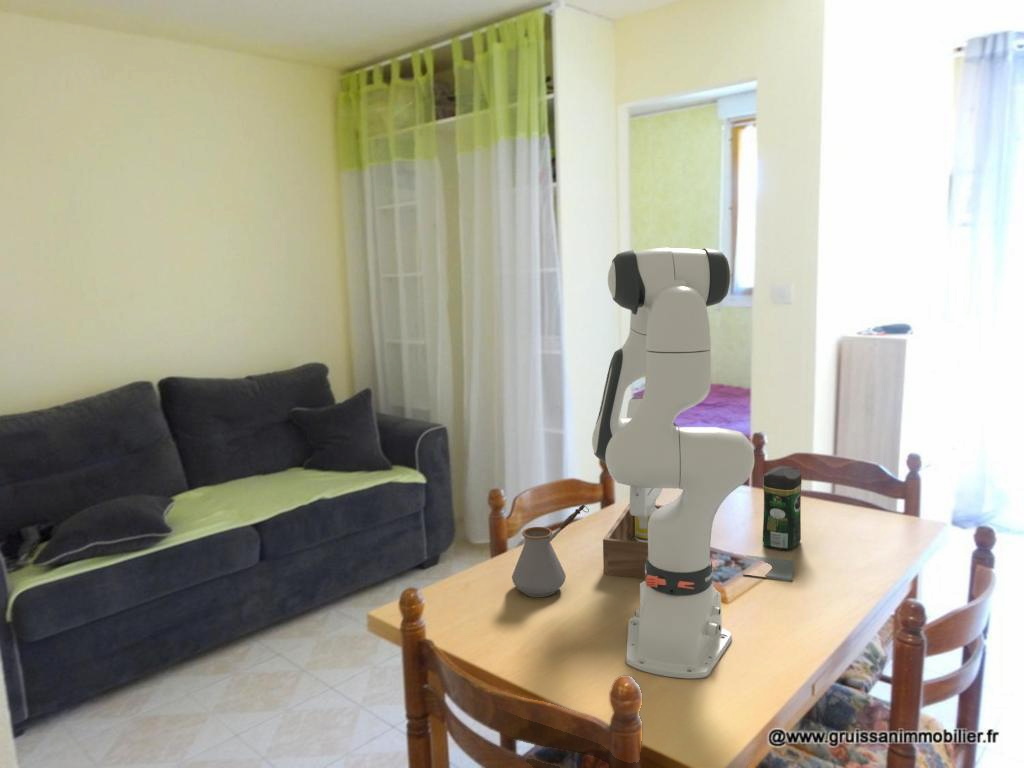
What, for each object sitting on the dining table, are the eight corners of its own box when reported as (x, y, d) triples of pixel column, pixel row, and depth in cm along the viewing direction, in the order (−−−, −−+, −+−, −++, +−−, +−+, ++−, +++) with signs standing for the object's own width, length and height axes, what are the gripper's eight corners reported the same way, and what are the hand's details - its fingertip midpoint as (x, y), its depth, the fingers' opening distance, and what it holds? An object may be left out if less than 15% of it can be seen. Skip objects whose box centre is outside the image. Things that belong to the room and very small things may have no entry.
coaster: (792, 581, 155) (792, 578, 155) (743, 575, 159) (743, 572, 159) (793, 562, 164) (793, 560, 164) (746, 557, 168) (746, 555, 168)
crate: (666, 581, 157) (666, 546, 156) (603, 573, 162) (602, 539, 161) (686, 538, 181) (686, 507, 179) (630, 532, 186) (629, 502, 185)
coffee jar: (771, 534, 181) (772, 461, 178) (804, 540, 177) (806, 466, 174) (757, 546, 174) (758, 471, 171) (791, 553, 169) (793, 476, 166)
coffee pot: (539, 606, 148) (536, 536, 146) (501, 590, 156) (498, 523, 154) (607, 573, 162) (605, 509, 160) (568, 560, 171) (567, 498, 168)
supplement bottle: (658, 544, 167) (658, 502, 166) (634, 543, 168) (634, 502, 167) (658, 535, 172) (658, 495, 171) (635, 534, 173) (634, 495, 172)
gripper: (650, 477, 157) (651, 539, 159) (667, 455, 176) (668, 510, 178) (621, 475, 159) (622, 536, 161) (641, 453, 178) (642, 508, 180)
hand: (646, 522), depth 170 cm, fingers closed on supplement bottle, 5 cm apart
